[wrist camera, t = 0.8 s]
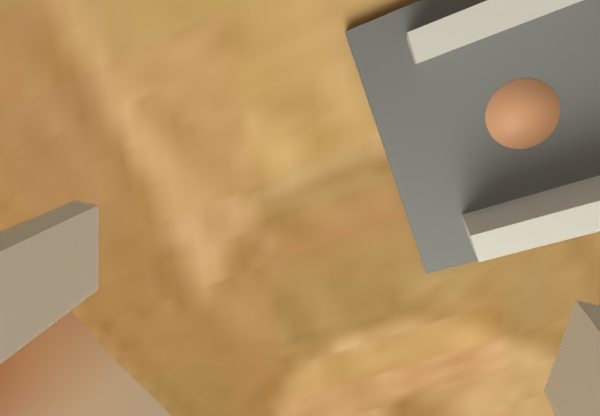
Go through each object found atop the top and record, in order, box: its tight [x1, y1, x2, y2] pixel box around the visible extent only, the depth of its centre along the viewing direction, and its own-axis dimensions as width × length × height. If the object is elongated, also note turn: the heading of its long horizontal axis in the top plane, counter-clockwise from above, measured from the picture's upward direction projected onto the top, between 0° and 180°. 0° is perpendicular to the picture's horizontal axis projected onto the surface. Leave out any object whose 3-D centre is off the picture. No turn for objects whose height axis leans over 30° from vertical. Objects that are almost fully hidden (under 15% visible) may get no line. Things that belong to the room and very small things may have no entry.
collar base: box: [345, 0, 600, 273], centre depth 33 cm, size 20×20×6 cm
